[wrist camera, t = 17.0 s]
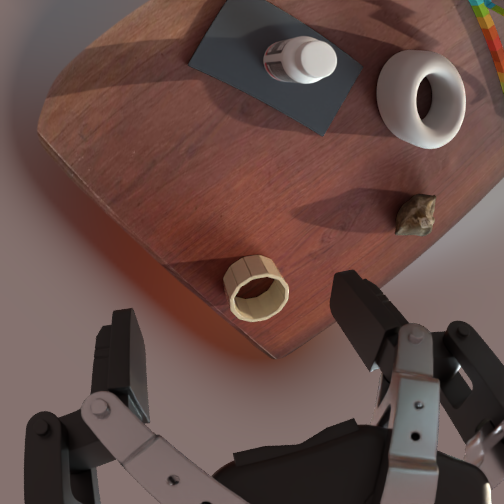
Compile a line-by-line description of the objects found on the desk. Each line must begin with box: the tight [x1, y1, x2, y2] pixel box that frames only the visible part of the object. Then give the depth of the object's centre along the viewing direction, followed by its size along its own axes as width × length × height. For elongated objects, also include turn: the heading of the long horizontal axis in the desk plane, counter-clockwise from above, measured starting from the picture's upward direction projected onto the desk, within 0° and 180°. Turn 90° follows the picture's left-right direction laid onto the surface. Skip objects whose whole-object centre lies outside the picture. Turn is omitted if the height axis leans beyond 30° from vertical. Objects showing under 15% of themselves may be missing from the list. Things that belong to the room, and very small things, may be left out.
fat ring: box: [377, 50, 466, 149], centre depth 38 cm, size 15×15×7 cm
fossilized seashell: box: [395, 194, 436, 236], centre depth 50 cm, size 8×7×10 cm
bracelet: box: [223, 255, 289, 322], centre depth 48 cm, size 9×9×5 cm
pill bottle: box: [263, 36, 337, 84], centre depth 30 cm, size 5×5×10 cm
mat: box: [188, 0, 363, 136], centre depth 34 cm, size 20×12×1 cm, turn 61°
